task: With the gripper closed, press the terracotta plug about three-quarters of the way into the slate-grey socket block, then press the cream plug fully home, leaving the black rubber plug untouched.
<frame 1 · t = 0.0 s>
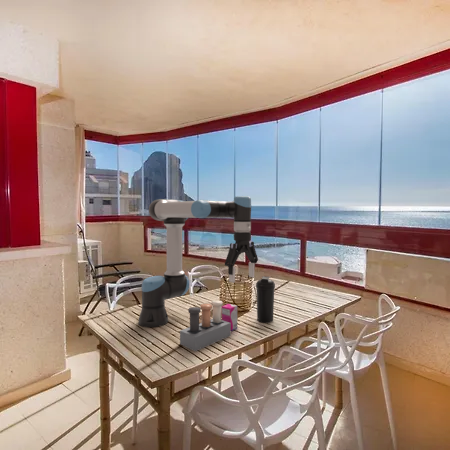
hand: (242, 279, 130), 28 cm above the table, fingers open, 13 cm apart
terracotta plug: (206, 315, 132), point 11 cm above the table, slide at 0.0 cm
black plug: (194, 319, 127), point 11 cm above the table, slide at 0.0 cm
cream plug: (217, 311, 137), point 11 cm above the table, slide at 0.0 cm
supplement box: (229, 329, 146), on the table
socket block: (206, 339, 133), on the table
water bottle: (265, 320, 158), on the table
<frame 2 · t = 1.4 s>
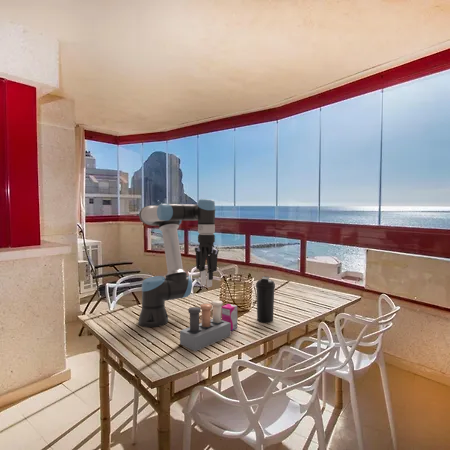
hand: (206, 285, 132), 25 cm above the table, fingers open, 3 cm apart
nothing on the table moved.
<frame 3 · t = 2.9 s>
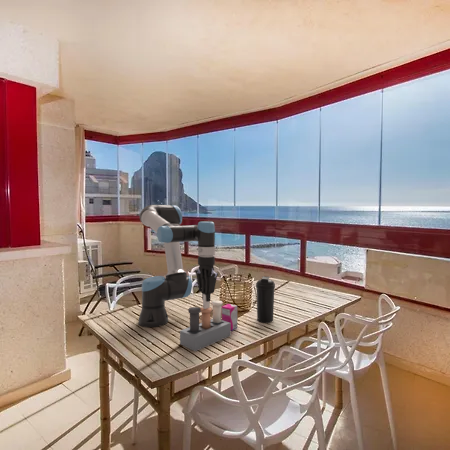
hand: (206, 308, 132), 15 cm above the table, fingers closed
terracotta plug: (206, 318, 132), point 10 cm above the table, slide at 1.4 cm, touching gripper
everything else where it was.
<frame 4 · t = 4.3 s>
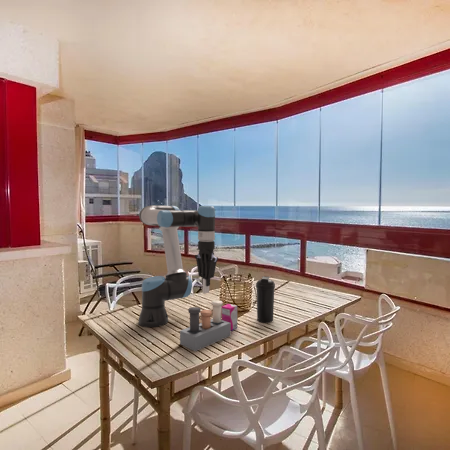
hand: (205, 292, 132), 21 cm above the table, fingers closed
terracotta plug: (206, 321, 132), point 8 cm above the table, slide at 2.8 cm
everything else where it was.
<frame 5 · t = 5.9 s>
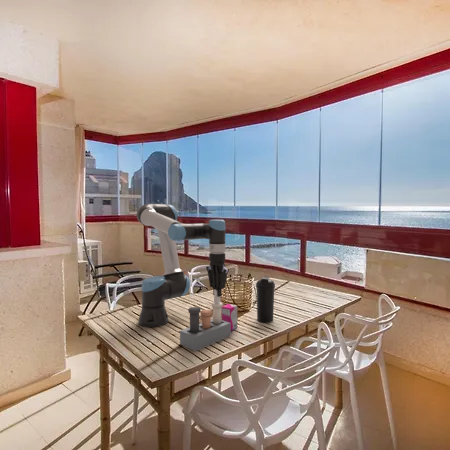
hand: (217, 302, 137), 15 cm above the table, fingers closed
cream plug: (217, 313, 137), point 10 cm above the table, slide at 0.6 cm, touching gripper
everything else where it was.
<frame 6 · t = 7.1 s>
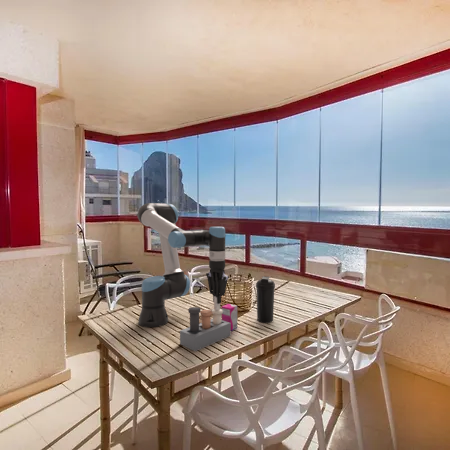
hand: (217, 309, 137), 12 cm above the table, fingers closed
cream plug: (217, 319, 138), point 7 cm above the table, slide at 3.9 cm, touching gripper
everything else where it was.
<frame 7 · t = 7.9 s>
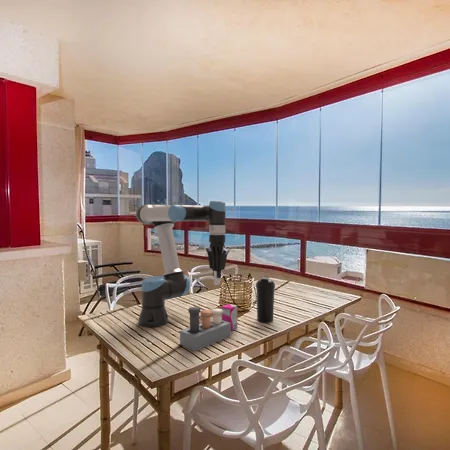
hand: (216, 284, 137), 24 cm above the table, fingers closed
cream plug: (217, 319, 138), point 7 cm above the table, slide at 3.9 cm
everything else where it was.
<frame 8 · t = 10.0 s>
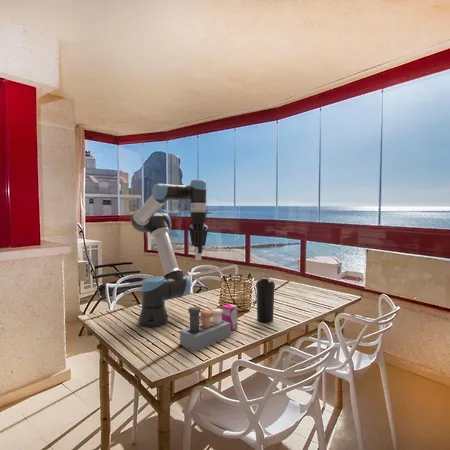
hand: (198, 259, 144), 34 cm above the table, fingers closed
nothing on the table moved.
at the end: terracotta plug slide at 2.8 cm; cream plug slide at 3.9 cm; black plug slide at 0.0 cm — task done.
